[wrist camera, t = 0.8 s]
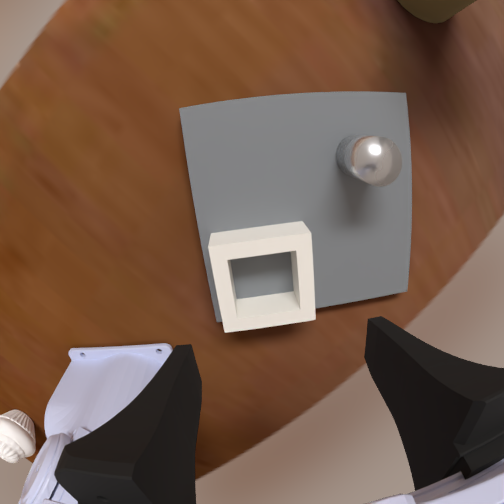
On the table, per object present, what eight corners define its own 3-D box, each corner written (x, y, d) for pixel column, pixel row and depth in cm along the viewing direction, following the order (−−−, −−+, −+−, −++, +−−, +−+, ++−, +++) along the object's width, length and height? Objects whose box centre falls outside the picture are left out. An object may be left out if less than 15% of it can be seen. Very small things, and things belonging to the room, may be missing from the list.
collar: (225, 312, 22) (224, 332, 19) (210, 233, 20) (208, 246, 17) (307, 300, 22) (315, 319, 19) (302, 220, 20) (311, 232, 17)
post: (337, 178, 19) (358, 188, 15) (333, 135, 18) (355, 137, 15) (375, 175, 19) (403, 184, 16) (373, 134, 18) (400, 136, 15)
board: (217, 313, 23) (216, 322, 22) (182, 109, 18) (179, 108, 17) (400, 284, 23) (407, 291, 22) (397, 94, 18) (405, 92, 17)
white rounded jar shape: (-3, 393, 26) (-27, 433, 19) (38, 411, 27) (16, 455, 20) (10, 424, 28) (-9, 461, 22) (48, 440, 29) (31, 481, 22)
